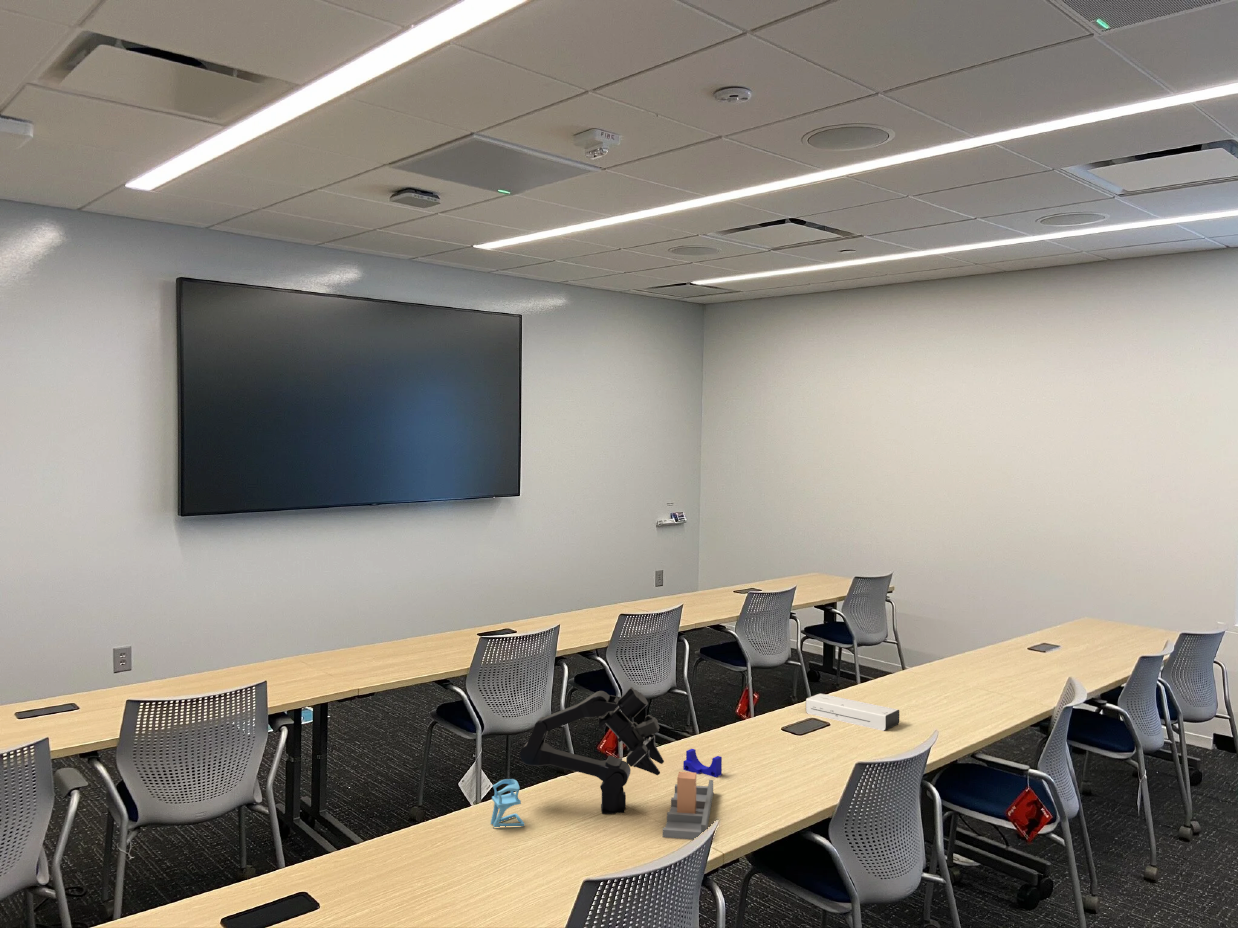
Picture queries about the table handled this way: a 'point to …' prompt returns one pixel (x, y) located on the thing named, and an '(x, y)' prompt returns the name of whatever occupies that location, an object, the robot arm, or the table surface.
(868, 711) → the laminator
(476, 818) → the table surface
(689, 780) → the terracotta block
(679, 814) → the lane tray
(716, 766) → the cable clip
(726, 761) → the table surface
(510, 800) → the chair
